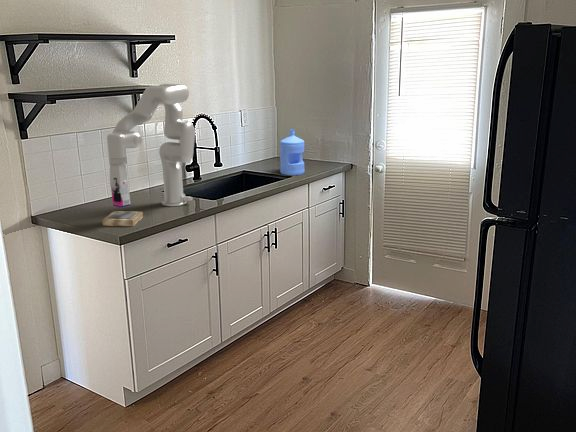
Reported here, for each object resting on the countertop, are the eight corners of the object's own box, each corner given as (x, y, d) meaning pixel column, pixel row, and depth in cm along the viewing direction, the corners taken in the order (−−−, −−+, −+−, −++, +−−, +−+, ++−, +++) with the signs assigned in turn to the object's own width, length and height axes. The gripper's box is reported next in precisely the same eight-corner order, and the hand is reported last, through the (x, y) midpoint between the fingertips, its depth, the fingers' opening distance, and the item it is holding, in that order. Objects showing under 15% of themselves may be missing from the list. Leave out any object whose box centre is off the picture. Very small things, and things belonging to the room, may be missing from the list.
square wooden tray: (143, 217, 263) (142, 211, 262) (133, 226, 250) (132, 219, 249) (114, 217, 264) (113, 210, 263) (102, 225, 251) (102, 219, 250)
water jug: (275, 173, 359) (274, 129, 351) (291, 169, 370) (291, 127, 362) (293, 176, 349) (293, 131, 341) (309, 172, 360) (309, 129, 352)
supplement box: (123, 203, 258) (121, 179, 255) (130, 205, 255) (128, 180, 252) (112, 205, 254) (110, 181, 251) (120, 207, 251) (117, 182, 247)
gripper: (116, 157, 258) (120, 194, 262) (102, 164, 241) (105, 204, 246) (132, 157, 257) (135, 195, 262) (119, 164, 240) (122, 204, 245)
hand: (121, 199), depth 254 cm, fingers closed on supplement box, 7 cm apart
